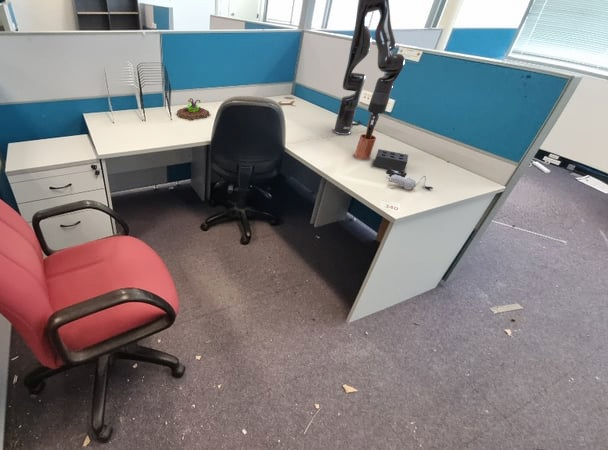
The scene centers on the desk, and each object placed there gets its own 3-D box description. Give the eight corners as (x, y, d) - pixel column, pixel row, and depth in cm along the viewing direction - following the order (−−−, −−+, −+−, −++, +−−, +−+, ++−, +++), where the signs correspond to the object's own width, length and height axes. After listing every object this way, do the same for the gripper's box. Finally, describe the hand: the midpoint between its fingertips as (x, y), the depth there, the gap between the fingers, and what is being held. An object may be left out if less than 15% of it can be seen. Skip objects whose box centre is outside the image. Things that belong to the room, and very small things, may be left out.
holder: (374, 160, 168) (378, 149, 165) (403, 166, 163) (408, 154, 160) (372, 167, 161) (376, 155, 158) (402, 173, 156) (407, 162, 153)
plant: (171, 114, 222) (171, 97, 216) (193, 108, 233) (193, 92, 227) (191, 121, 211) (190, 103, 204) (213, 115, 221) (213, 98, 215)
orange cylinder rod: (361, 147, 169) (369, 122, 162) (367, 148, 168) (375, 124, 161) (360, 149, 167) (368, 124, 160) (367, 150, 166) (374, 125, 159)
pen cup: (355, 153, 175) (361, 133, 168) (370, 156, 172) (376, 135, 165) (353, 158, 169) (359, 137, 163) (368, 161, 167) (375, 140, 160)
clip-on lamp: (421, 188, 151) (383, 174, 152) (430, 176, 147) (390, 162, 149) (429, 199, 141) (388, 184, 142) (438, 186, 137) (396, 171, 139)
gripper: (372, 96, 161) (361, 131, 171) (368, 103, 151) (357, 140, 161) (389, 99, 158) (377, 134, 168) (386, 106, 148) (374, 143, 158)
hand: (368, 137), depth 164 cm, fingers closed on orange cylinder rod, 3 cm apart
